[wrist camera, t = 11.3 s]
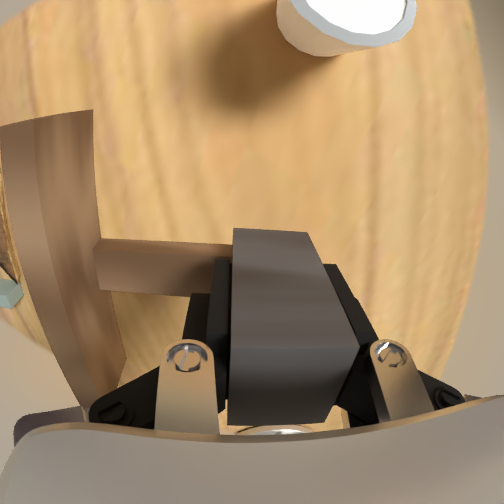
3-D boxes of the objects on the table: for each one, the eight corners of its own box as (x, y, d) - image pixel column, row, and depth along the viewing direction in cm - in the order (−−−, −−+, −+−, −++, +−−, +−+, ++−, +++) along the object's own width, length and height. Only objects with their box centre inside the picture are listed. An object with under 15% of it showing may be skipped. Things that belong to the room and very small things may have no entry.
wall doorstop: (280, 368, 16) (295, 472, 10) (103, 354, 15) (69, 448, 10) (324, 115, 10) (420, 138, 4) (62, 113, 9) (-60, 145, 4)
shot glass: (244, 9, 15) (248, -36, 8) (322, -33, 13) (355, -79, 7) (311, 84, 17) (349, 72, 11) (384, 38, 16) (440, 18, 9)
